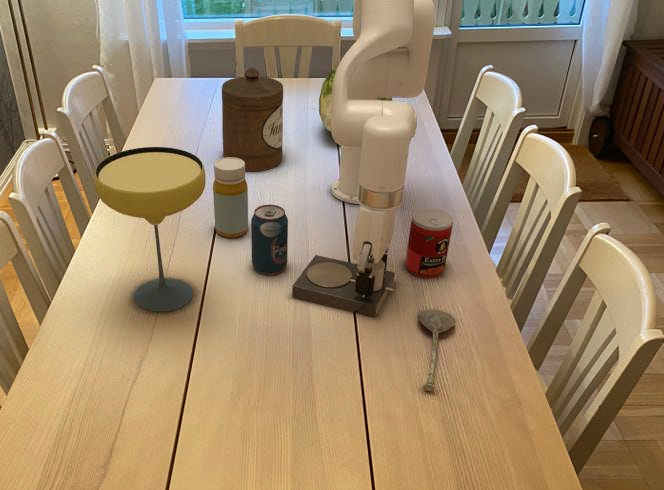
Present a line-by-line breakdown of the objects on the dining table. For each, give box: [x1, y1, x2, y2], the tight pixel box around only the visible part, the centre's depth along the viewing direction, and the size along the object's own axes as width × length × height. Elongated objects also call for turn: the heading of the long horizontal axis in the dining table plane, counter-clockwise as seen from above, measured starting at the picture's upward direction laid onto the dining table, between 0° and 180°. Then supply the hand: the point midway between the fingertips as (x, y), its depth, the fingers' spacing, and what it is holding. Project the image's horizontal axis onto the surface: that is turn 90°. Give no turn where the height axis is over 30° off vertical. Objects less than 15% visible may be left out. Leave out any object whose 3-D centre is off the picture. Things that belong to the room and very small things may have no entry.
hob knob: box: [367, 256, 385, 291], centre depth 130 cm, size 4×4×5 cm
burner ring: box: [307, 262, 352, 288], centre depth 134 cm, size 8×8×1 cm
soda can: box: [250, 204, 289, 275], centre depth 137 cm, size 7×7×12 cm
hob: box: [291, 254, 396, 318], centre depth 133 cm, size 17×12×3 cm
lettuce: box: [318, 63, 393, 132], centre depth 187 cm, size 19×23×18 cm
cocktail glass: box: [93, 146, 207, 313], centre depth 125 cm, size 18×18×25 cm
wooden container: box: [221, 67, 284, 172], centre depth 173 cm, size 15×15×22 cm
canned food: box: [405, 207, 454, 278], centre depth 137 cm, size 8×8×11 cm
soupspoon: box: [417, 309, 457, 392], centre depth 120 cm, size 22×3×7 cm
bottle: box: [212, 157, 249, 239], centre depth 147 cm, size 7×7×15 cm
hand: (370, 282), depth 131 cm, fingers open, 7 cm apart
